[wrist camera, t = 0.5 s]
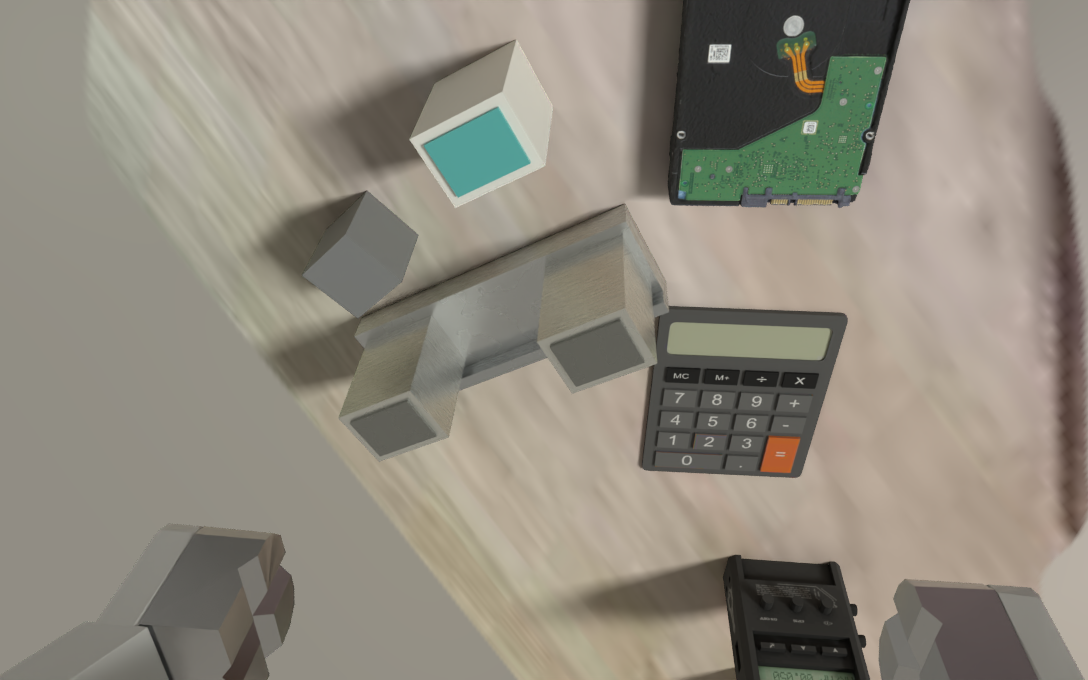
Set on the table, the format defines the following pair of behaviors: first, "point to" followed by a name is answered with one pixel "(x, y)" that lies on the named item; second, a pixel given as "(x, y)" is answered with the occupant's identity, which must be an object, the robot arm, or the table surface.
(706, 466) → the calculator
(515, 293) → the rail
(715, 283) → the table surface
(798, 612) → the geiger counter
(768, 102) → the disk drive
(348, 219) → the block
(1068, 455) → the table surface
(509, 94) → the block
